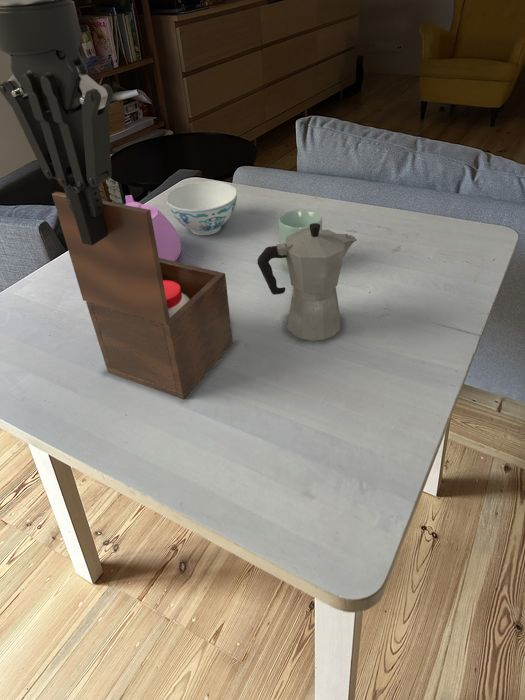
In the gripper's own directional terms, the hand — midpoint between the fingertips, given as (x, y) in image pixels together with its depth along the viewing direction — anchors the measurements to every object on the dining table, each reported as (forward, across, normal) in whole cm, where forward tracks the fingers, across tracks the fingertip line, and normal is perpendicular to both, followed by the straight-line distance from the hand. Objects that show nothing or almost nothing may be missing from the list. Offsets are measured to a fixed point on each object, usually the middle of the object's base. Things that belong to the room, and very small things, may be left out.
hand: (95, 239), depth 62 cm
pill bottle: (+24, 0, -9) cm, 26 cm away
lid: (+4, 0, -2) cm, 4 cm away
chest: (+25, 0, -9) cm, 26 cm away
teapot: (+25, +23, -32) cm, 46 cm away
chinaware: (+25, +19, -49) cm, 58 cm away
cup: (+25, -7, -42) cm, 49 cm away
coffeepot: (+25, -16, -25) cm, 39 cm away
